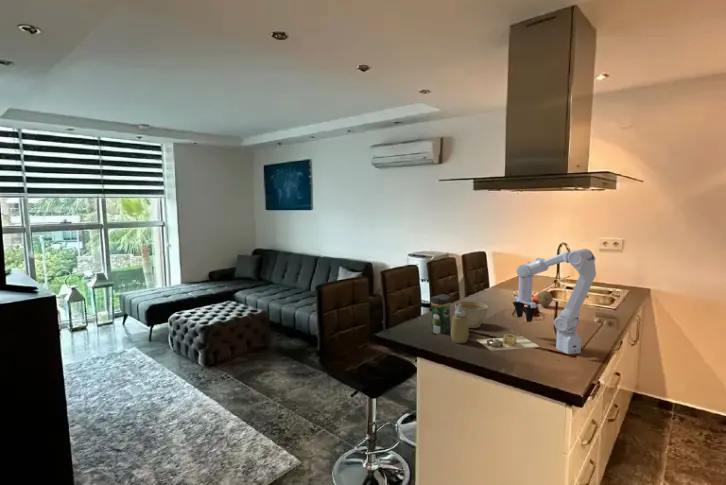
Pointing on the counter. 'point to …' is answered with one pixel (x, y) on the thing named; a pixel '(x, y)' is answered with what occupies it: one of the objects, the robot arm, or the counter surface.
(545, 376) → the counter surface
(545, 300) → the natural sponge
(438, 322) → the coffee jar
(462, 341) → the squeeze bottle
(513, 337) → the brass gear
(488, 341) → the drive gear
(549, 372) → the counter surface
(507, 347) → the gear board
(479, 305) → the planter bowl
